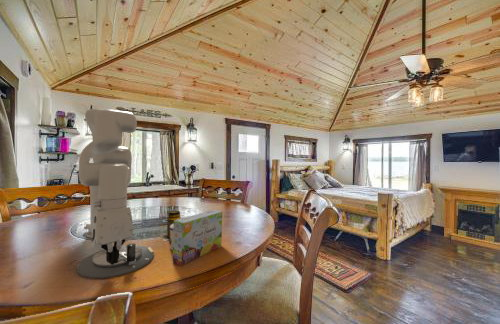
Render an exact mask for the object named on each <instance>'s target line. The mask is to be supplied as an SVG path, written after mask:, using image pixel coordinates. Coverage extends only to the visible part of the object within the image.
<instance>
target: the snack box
mask: <svg viewBox="0 0 500 324" xmlns="http://www.w3.org/2000/svg"><path fill="white" fill-rule="evenodd" d="M222 233H223V211H222V210H221V211H220V210H216V209H211V210H209V211H205V212H201V213H197V214H194V215H193V214H192V215H190V216H185V217H183V218H182V217H181V219H178V220H174V227H173V250H172V263H175V264H177V265H179V266H184V265H186V264H188V263H190V262H191V261H192V262H193V261H194V260H196V259H198V258H200V257H202V256H204V255H207V254H208V253H210V252H213V251H214V250H216V249H218V248H221V247H222V241H223V240H222V237H223V234H222Z"/></svg>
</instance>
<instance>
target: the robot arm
mask: <svg viewBox="0 0 500 324" xmlns="http://www.w3.org/2000/svg"><path fill="white" fill-rule="evenodd" d="M85 121H86V124H87V126H88V128H89V131H90V133H91V135H92V141H91V142H89V143H88V144H87V145H85V147H84V148H83V149H82V151H81V152H80V155H79V159H78V180H79V182H80V184H82V186H85V187H89V191H90V193H89V194H90V210H89V211H90V214H89V215H90V222H89V223H87V224H85V226H84V227H83V229H84V230H87V232H86V233H85V236H86V238H91V239H92V244H91V248H92V249H93V250H99V249H100V250H104V249H105V250H106V260H107V262H108V263H110V264H111V265H113V264H114V263H118V259H119V249H120V248H121V246H122V245H124V243H125V242H128V241H129V240H132V237H133V234H134V224H133V215H132V210H131V206H129V205H128V186H130V184H131V179H132V166H133V165H132V162H133V161H132V160H133V157H132V156H133V155H132V151H131V150H130V148H128V146H127V147H126V146H122V144H123V139H122V138H123V136H122V133H128V134H129V133H133V134H134V133H135V132H136V130H137V127H138V122H137V117H136V115H135V114H134V113H133V112H129V111H124V110H123V111H122V110H115V109H105V108H104V109H103V108H102V109H99V108H98V109H97V108H91V109H88V110H86V111H85ZM90 160H92V162H90ZM112 247H113V248H112Z"/></svg>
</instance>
